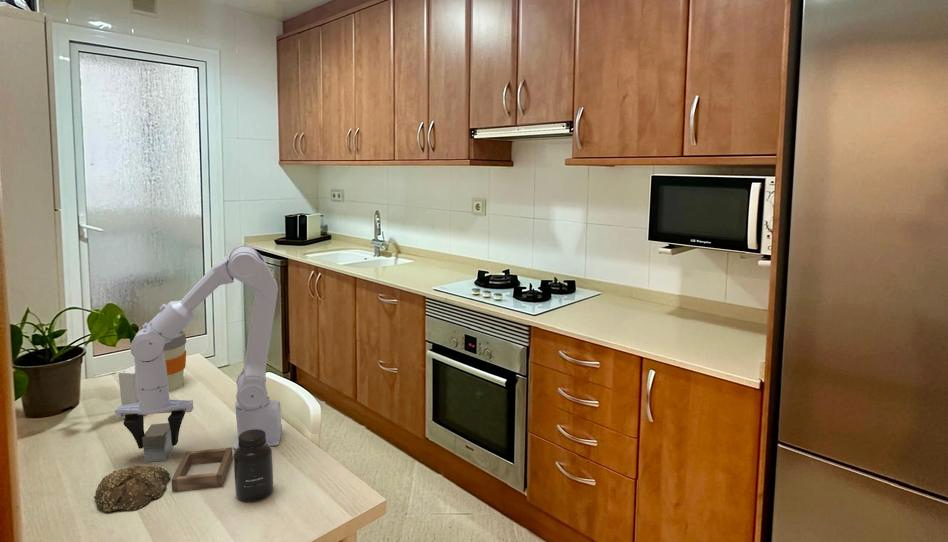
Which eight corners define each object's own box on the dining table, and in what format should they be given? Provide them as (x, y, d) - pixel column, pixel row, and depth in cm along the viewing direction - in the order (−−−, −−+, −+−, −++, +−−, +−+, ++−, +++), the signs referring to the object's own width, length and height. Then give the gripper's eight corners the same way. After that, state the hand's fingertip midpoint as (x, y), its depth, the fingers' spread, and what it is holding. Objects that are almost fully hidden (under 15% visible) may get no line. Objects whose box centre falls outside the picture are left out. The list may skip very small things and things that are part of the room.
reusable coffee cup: (183, 374, 168) (179, 326, 166) (195, 387, 159) (190, 336, 156) (135, 385, 161) (129, 333, 158) (144, 399, 151) (138, 345, 148)
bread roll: (103, 483, 112) (100, 460, 112) (173, 472, 117) (171, 449, 116) (85, 521, 101) (82, 495, 100) (164, 507, 105) (161, 482, 104)
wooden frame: (232, 458, 122) (232, 447, 121) (222, 486, 111) (221, 474, 111) (187, 462, 120) (186, 451, 119) (172, 491, 109) (171, 479, 109)
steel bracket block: (154, 449, 125) (151, 424, 124) (173, 447, 126) (171, 422, 125) (145, 463, 119) (142, 437, 118) (165, 461, 120) (163, 435, 119)
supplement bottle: (251, 507, 105) (247, 447, 102) (228, 495, 108) (223, 437, 106) (281, 489, 110) (278, 432, 108) (258, 479, 114) (255, 423, 112)
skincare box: (137, 420, 139) (132, 373, 137) (122, 418, 140) (117, 372, 138) (155, 410, 145) (151, 365, 143) (141, 408, 146) (136, 363, 143)
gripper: (194, 375, 125) (199, 433, 128) (121, 380, 122) (127, 439, 124) (186, 388, 118) (191, 448, 121) (108, 393, 115) (115, 455, 118)
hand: (158, 444), depth 122 cm, fingers open, 6 cm apart
